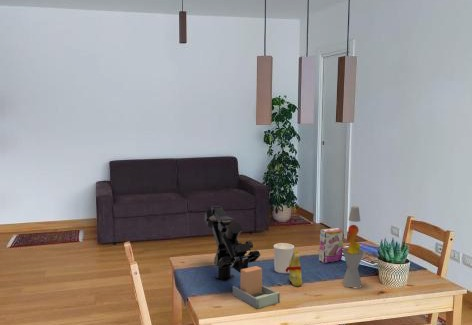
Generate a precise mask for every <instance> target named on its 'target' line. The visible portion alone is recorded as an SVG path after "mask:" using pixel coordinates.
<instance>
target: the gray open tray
mask: <svg viewBox="0 0 472 325" xmlns="http://www.w3.org/2000/svg"><path fill="white" fill-rule="evenodd" d="M280 295H281V292H279V291H275V290H273V289H272V288H269V287H267V286H265V285H263V284H262V292H260V293H257V294H253V295H250V294H248V293H246V292H244V291H242V290H241V289H240V288H239V287H237V286H234V285H233V286H232V296H234V297H236V298H237V299H239V300H241V301H242V302H243V301H244V302H245V303H247V304H248V305H250V306H252V307H253V308H255V309H261V308H265V307H267V306H271V305H275V304H278V303H280V298H281V296H280Z"/></svg>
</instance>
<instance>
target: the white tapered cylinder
mask: <svg viewBox="0 0 472 325" xmlns="http://www.w3.org/2000/svg"><path fill="white" fill-rule="evenodd" d="M294 250H295V245H293V244H291V243H286V242H279V243H275V244H273V263H274V271H275V272H276V273H279V274H289V270H288V272H286V268H287V267H289V262H290V259H291V257H292V256H293V252H294Z"/></svg>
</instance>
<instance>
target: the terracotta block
mask: <svg viewBox="0 0 472 325" xmlns="http://www.w3.org/2000/svg"><path fill="white" fill-rule="evenodd" d="M262 285H263V268H262V267H260V266H257V265H255V266H250V267H249V266H248V268H245V269H241V273H240V284H239V286H240V288H239V289H241V290H242V291H244V292H246V293H248V294H250V295H253V294H257V293H260V292H262Z"/></svg>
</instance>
